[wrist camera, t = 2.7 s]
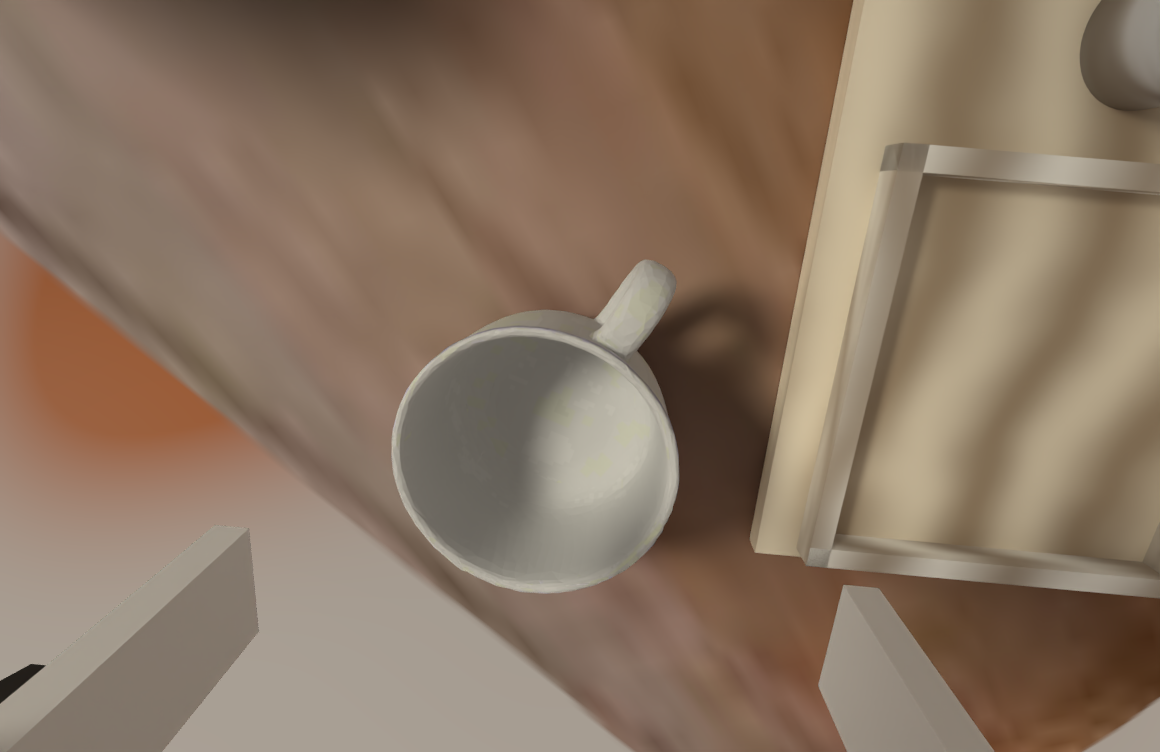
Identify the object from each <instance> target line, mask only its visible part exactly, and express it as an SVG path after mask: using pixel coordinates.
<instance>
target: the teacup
mask: <svg viewBox="0 0 1160 752" xmlns="http://www.w3.org/2000/svg"><path fill="white" fill-rule="evenodd" d="M675 290H676V279H675V276H674V275H673V273H672V272H671V271H670V270H668V269H667V268H666V267H665V266H663V265H661V264H659V263H657V262H655V261H652V260H643V261H641V262H639V263H638V264H637V265H636V266H635V267H634V269H633V270H632V271H631V272H630V274H629V275H628V276H627V277H626V279H625V280H624V281H623V282H622V284H621V285H620V287H619V288H618V290H617V291H616V292H615V293H614V295H613V296H612V298H611V299H610V301H609V302H608V304H607V305H606V307H605V308H604V309H603V310H602V311H601V313H600V314H599V315H598V316H597V317H596V318H595V319H591V318H588V317H586V316H582V315H579V314H575V313H570V312H565V311H557V310H535V311H527V312H522V313H517V314H514V315H510V316H507V317H504V318H502V319H500V320H497V321H495V322H493V323H491V324H489V325H487V326H485V327H483V328H481V329H480V330H478V331H476V332H474V333H473V334H471V335H470V336H468V337H466V338H464V339H462V340H460V341H458V342H456V343H454V344H452V345H451V346H449V347H448V348H446V349H445V350H443V351H442V352H441V353H440V354H439V355H438V356H436V357H435V358H434V359H432V360H431V361H430V362H429V363H428V364H427V365H426V366H425V367H424V368H423V370H422V371H421V372H420V373H419V374H418V375H417V377H416V378H415V379H414V380H413V382H412V383H411V385H410V386H409V388H408V389H407V391H406V393H405V395H404V397H403V399H402V401H401V403H400V406H399V409H398V412H397V415H396V419H395V423H394V427H393V433H392V456H391V457H392V466H393V473H394V477H395V481H396V485H397V488H398V491H399V494H400V497H401V499H402V502H403V504H404V506H405V508H406V510H407V511H408V513H409V515H410V516H411V518H412V520H413V521H414V523H415V525H416V526H417V527H418V528H419V530H420V531H421V532H422V533H423V535H424V536H425V537H426V538H427V539H428V541H429V542H430V543H431V544H432V545H433V547H434V548H436V549H437V550H438V551H439V552H440V553H442V554H443V555H444V556H445V557H446V558H447V559H448V560H450V561H451V562H452V563H453V564H454V565H456V566H457V567H458V568H459V569H461V570H462V571H467V572H469V573H470V574H472V575H474V576H475V577H477V578H479V579H482V580H484V581H486V582H489V583H491V584H493V585H496V586H500V587H504V588H509V589H512V590H516V591H520V592H528V593H547V594H548V593H561V592H567V591H575V590H578V589H582V588H586V587H590V586H593V585H597V584H598V583H600V582H603V581H606V580H608V579H610V578H612V577H614V576H615V575H617V574H619V573H621V572H623V571H625V570H626V569H627V568H629V567H630V566H631V565H633V564H634V563H635V562H636V561H637V560H638V559H639V558H640V557H642V556H643V555H644V554H645V553H646V552H647V551H648V550H649V549H650V548H651V547H652V546H653V545H654V544H655V542H656V540H657V538H658V537H659V535H660V534H661V533H662V532H663V528H664V525H665V524H666V522H667V521H668V518H669V516H670V514H671V512H672V510H673V505H674V503H675V500H676V496H677V492H678V487H679V454H678V448H677V443H676V438H675V434H674V431H673V428H672V425H671V422H670V419H669V417H668V413H667V409H666V405H665V401H664V398H663V395H662V393H661V390H660V387H659V385H658V383H657V380H656V378H655V376H654V374H653V373H652V371H651V369H650V367H649V366H648V364H647V363H646V361H645V360H644V359H643V357H642V356H641V355H640V354H639V353H638V352H637V350H638V349H639V347H640V346H641V345H642V343H643V342H644V341H645V340H646V338H647V337H648V336H649V335H650V334H651V332H652V331H653V329H654V328H655V326H656V325H657V324H658V322H659V321H660V319H661V318H662V316H663V315H664V313H665V311H666V309H667V307H668V305H669V304H670V302H671V300H672V298H673V295H674V293H675Z"/></svg>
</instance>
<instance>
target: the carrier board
mask: <svg viewBox="0 0 1160 752" xmlns="http://www.w3.org/2000/svg"><path fill="white" fill-rule="evenodd" d="M749 540H750V542H751V544H752V547H753V549H754V551H755V553H764V554H775V555H786V556H797V557H802V559H803V561H804V563H805V565H806V566H814V567H825V568H835V569H846V570H857V571H868V572H879V573H890V574H901V575H911V576H922V577H933V578H944V579H955V580H966V581H977V582H987V583H998V584H1009V585H1020V586H1031V587H1042V588H1053V589H1063V590H1074V591H1085V592H1096V593H1107V594H1118V595H1129V596H1139V597H1150V598H1160V0H854V1H853V6H852V11H851V16H850V22H849V27H848V32H847V37H846V42H845V47H844V53H843V58H842V63H841V68H840V73H839V78H838V84H837V89H836V94H835V99H834V104H833V109H832V115H831V120H830V125H829V130H828V135H827V140H826V146H825V151H824V156H823V161H822V166H821V172H820V177H819V182H818V187H817V192H816V197H815V203H814V208H813V213H812V218H811V223H810V228H809V234H808V239H807V244H806V249H805V254H804V259H803V265H802V270H801V275H800V280H799V285H798V290H797V296H796V301H795V306H794V311H793V316H792V321H791V327H790V332H789V337H788V342H787V347H786V352H785V358H784V363H783V368H782V373H781V378H780V383H779V389H778V394H777V399H776V404H775V409H774V414H773V420H772V425H771V430H770V435H769V440H768V445H767V451H766V456H765V461H764V466H763V471H762V476H761V482H760V487H759V492H758V497H757V502H756V507H755V513H754V518H753V523H752V528H751V533H750V539H749Z"/></svg>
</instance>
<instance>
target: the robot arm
mask: <svg viewBox="0 0 1160 752" xmlns="http://www.w3.org/2000/svg"><path fill="white" fill-rule="evenodd" d="M258 632H259V629H258V618H257V608H256V597H255V586H254V576H253V565H252V555H251V544H250V533H249V528H240V527H228V526H219V525H215V526H213V527H212V528H211V529H210V530H209V531H207V532H206V533H205V534H204V535H203V536H201V537H200V538H199V539H198V540H196V541H195V542H194V543H193V544H192V545H190V546H189V547H188V548H187V549H186V550H184V551H183V552H182V553H181V554H180V555H178V556H177V557H176V558H175V559H174V560H173V561H171V562H170V563H169V564H168V565H167V566H165V567H164V568H163V569H162V570H160V571H159V572H158V573H157V574H156V575H154V577H152V578H151V579H150V580H148V581H147V582H146V583H145V584H144V585H143V586H142V587H140V588H139V589H138V590H136V591H135V592H134V593H133V594H132V595H130V596H129V597H128V598H127V599H126V600H125V601H123V602H122V603H121V604H120V605H118V606H117V607H116V608H115V609H114V610H112V611H111V612H110V613H109V614H108V615H106V616H105V617H104V618H103V619H102V620H100V621H99V622H98V623H97V624H96V625H94V626H93V627H92V628H91V629H90V630H88V631H87V632H86V633H85V634H84V635H82V636H81V637H80V638H79V639H78V640H76V641H75V642H74V643H73V644H72V645H70V646H69V647H68V648H67V649H66V650H64V651H63V652H62V653H61V654H60V655H58V656H57V657H56V658H55V659H54V660H52V661H51V662H50V663H49V664H47V665H35V664H30V665H29V666H27V667H25V668H23V669H21V670H19V671H18V672H16V673H14V674H12V675H10V676H8V677H6V678H5V679H3V680H1V681H0V752H162V751H163V750H164V749H165V747H166V746H167V745H168V744H169V742H170V741H171V740H172V739H173V737H174V736H175V735H176V734H177V733H178V731H179V730H180V729H181V727H182V726H183V725H184V724H185V722H186V721H187V720H188V718H190V716H191V715H192V714H193V712H194V711H195V710H196V709H197V708H198V706H199V705H200V704H201V703H202V701H203V700H204V699H205V698H206V696H207V695H208V694H209V693H210V691H211V690H212V689H213V688H214V686H215V685H216V684H217V683H218V681H219V680H220V679H221V678H222V676H223V675H224V674H225V673H226V671H227V670H228V669H229V668H230V667H231V665H232V664H233V663H234V661H235V660H236V659H237V658H238V657H239V655H240V654H241V653H242V651H243V650H244V649H245V648H246V646H247V645H248V644H249V643H250V642H251V640H252V639H253V638H254V637H255V635H256V634H257V633H258ZM818 686H819V689H820V691H821V693H822V696H823V698H824V700H825V702H826V705H827V707H828V709H829V711H830V714H831V716H832V718H833V721H834V723H835V725H836V727H837V730H838V732H839V734H840V736H841V739H842V741H843V743H844V745H845V748H846V750H847V752H994V750H993V749H992V747H991V746H990V744H989V743H988V742H987V740H986V739H985V737H984V736H983V735H982V733H981V732H980V730H979V729H978V728H977V726H976V725H975V723H974V722H973V720H972V719H971V718H970V716H969V715H968V713H967V712H966V711H965V709H964V708H963V706H962V705H961V703H960V702H959V701H958V699H957V698H956V696H955V695H954V694H953V692H952V691H951V689H950V688H949V687H948V685H947V684H946V682H945V681H944V679H943V678H942V677H941V675H940V674H939V672H938V671H937V670H936V668H935V667H934V665H933V664H932V663H931V661H930V660H929V658H928V657H927V655H926V654H925V653H924V651H923V650H922V648H921V647H920V646H919V644H918V643H917V641H916V640H915V639H914V637H913V636H912V634H911V633H910V631H909V630H908V629H907V627H906V626H905V624H904V623H903V622H902V620H901V619H900V617H899V616H898V615H897V613H896V612H895V610H894V609H893V607H892V606H891V605H890V603H889V602H888V600H887V599H886V598H885V596H884V595H883V593H882V592H881V591H880V589H879V588H873V587H862V586H851V585H843V589H842V593H841V597H840V601H839V605H838V609H837V613H836V617H835V621H834V625H833V629H832V633H831V637H830V641H829V645H828V649H827V653H826V657H825V661H824V665H823V669H822V673H821V677H820V681H819V685H818Z"/></svg>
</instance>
